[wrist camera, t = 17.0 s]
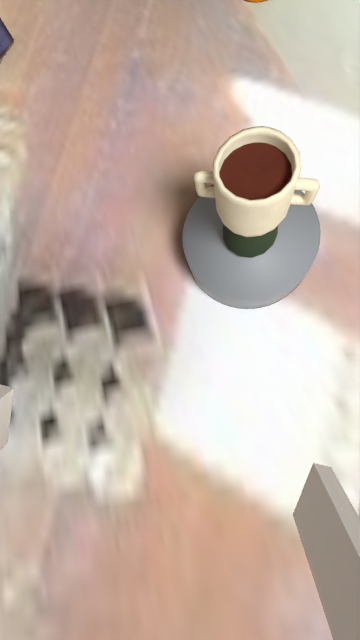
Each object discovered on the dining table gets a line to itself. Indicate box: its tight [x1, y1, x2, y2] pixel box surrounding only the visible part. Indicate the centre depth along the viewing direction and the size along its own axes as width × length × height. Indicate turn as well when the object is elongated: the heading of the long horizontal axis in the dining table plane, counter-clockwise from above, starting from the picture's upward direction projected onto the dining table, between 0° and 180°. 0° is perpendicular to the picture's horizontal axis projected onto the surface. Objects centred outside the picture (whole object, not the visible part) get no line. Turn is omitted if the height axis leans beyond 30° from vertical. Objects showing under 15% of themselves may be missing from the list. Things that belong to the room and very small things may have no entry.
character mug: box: [194, 126, 320, 258], centre depth 33 cm, size 11×7×13 cm, turn 79°
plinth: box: [183, 185, 320, 309], centre depth 42 cm, size 16×16×5 cm
